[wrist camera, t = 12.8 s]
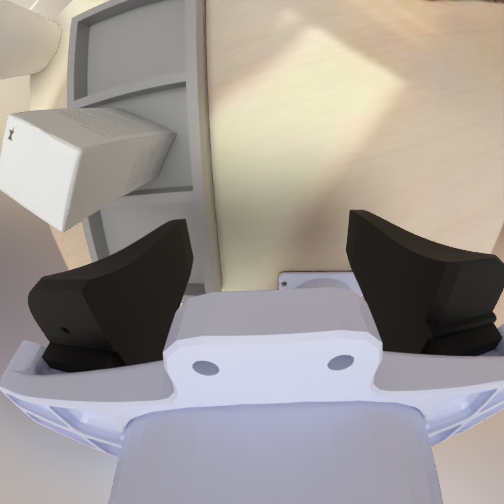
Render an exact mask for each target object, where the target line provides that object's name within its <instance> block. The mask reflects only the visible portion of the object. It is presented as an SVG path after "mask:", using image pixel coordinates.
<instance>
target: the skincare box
mask: <svg viewBox="0 0 504 504" xmlns="http://www.w3.org/2000/svg"><path fill="white" fill-rule="evenodd" d="M175 136H176V132H174V131H172V130H169V129H167V128H165V127H163V126H161V125H158V124H156V123H154V122H151V121H149V120H147V119H144V118H142V117H140V116H137V115H135V114H132V113H130V112H127V111H125V110H122V109H120V108H68V109H51V110H36V111H27V112H20V113H14V114H10V115H9V116H8V119H7V123H6V128H5V133H4V138H3V143H2V149H1V155H0V190H1V191H3V192H4V193H6V194H7V195H8V196H10V197H11V198H12V199H14V200H15V201H17V202H18V203H19V204H21V205H22V206H24V207H25V208H26V209H28V210H29V211H31V212H32V213H34V214H35V215H37V216H38V217H40V218H41V219H42V220H44V221H45V222H47V223H48V224H50V225H52V226H53V227H55V228H56V229H57V230H59V231H60V232H62V233H63V232H65V231H67V230H68V229H70V228H71V227H73V226H74V225H76V224H77V223H79V222H81V221H82V220H84V219H85V218H87V217H89V216H90V215H92V214H93V213H95V212H97V211H98V210H100V209H102V208H103V207H105V206H107V205H108V204H110V203H112V202H114V201H115V200H117V199H119V198H121V197H123V196H124V195H126V194H128V193H130V192H132V191H133V190H135V189H137V188H139V187H141V186H143V185H145V184H146V183H148V182H150V181H152V180H154V179H156V178H157V177H158V175H159V172H160V170H161V167H162V165H163V163H164V160H165V158H166V156H167V154H168V151H169V149H170V147H171V145H172V143H173V141H174V138H175Z"/></svg>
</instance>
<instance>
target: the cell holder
mask: <svg viewBox="0 0 504 504" xmlns="http://www.w3.org/2000/svg"><path fill="white" fill-rule="evenodd" d="M67 107H68V108H120V109H122V110H125V111H127V112H130V113H132V114H135V115H137V116H140V117H142V118H144V119H147V120H149V121H151V122H154V123H156V124H158V125H161V126H163V127H165V128H167V129H169V130H172V131H174V132H176V136H175V138H174V141H173V143H172V145H171V147H170V149H169V151H168V154H167V156H166V158H165V160H164V163H163V165H162V167H161V170H160V172H159V175H158V177H157V178H156V179H154V180H152V181H150V182H148V183H146V184H145V185H143V186H141V187H139V188H137V189H135V190H133V191H132V192H130V193H128V194H126V195H124V196H123V197H121V198H119V199H117V200H115V201H114V202H112V203H110V204H108V205H107V206H105V207H103V208H102V209H100V210H98V211H97V212H95V213H93V214H92V215H90V216H89V217H87V218H85V219H84V220H82V223H83V227H84V232H85V236H86V240H87V244H88V248H89V252H90V255H91V259H92V263H93V262H95V261H98V260H100V259H103V258H105V257H108V256H110V255H112V254H114V253H116V252H118V251H120V250H122V249H124V248H125V247H127V246H129V245H131V244H132V243H134V242H136V241H137V240H139V239H140V238H142V237H144V236H145V235H147V234H149V233H150V232H152V231H153V230H155V229H156V228H158V227H160V226H161V225H163V224H165V223H166V222H168V221H170V220H174V219H186V223H187V228H188V233H189V237H190V242H191V247H192V252H193V256H194V259H193V265H192V270H191V275H190V278H189V281H188V284H187V287H186V290H185V292H184V295H183V298H182V301H181V303H185V301H186V300H187V299H188V298H191V297H195V296H199V295H203V294H207V293H212V292H221V289H222V277H221V267H220V257H219V247H218V236H217V225H216V213H215V201H214V188H213V175H212V160H211V145H210V128H209V109H208V86H207V56H206V0H110V1H108V2H105V3H103V4H101V5H99V6H96V7H94V8H92V9H90V10H88V11H86V12H83V13H81V14H79V15H77V16H75V17H74V18H72V22H71V30H70V40H69V51H68V71H67Z"/></svg>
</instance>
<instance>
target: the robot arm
mask: <svg viewBox="0 0 504 504" xmlns="http://www.w3.org/2000/svg"><path fill="white" fill-rule="evenodd" d="M346 252H347V256H348V260H349V263H350V266H351V269H352V271H353V272H283V273H281V274H280V275H279V290H264V291H238V292H212V293H207V294H203V295H199V296H195V297H191V298H188V299H187V300H186V301H185V303H184V304H183V305H182V306H181V307H180V304H181V301H182V298H183V295H184V292H185V290H186V287H187V284H188V281H189V278H190V275H191V270H192V265H193V259H194V256H193V252H192V247H191V242H190V237H189V233H188V228H187V223H186V219H174V220H170V221H168V222H166V223H165V224H163V225H161V226H160V227H158V228H156V229H155V230H153V231H152V232H150V233H149V234H147V235H145V236H144V237H142V238H140V239H139V240H137V241H136V242H134V243H132V244H131V245H129V246H127V247H125V248H124V249H122V250H120V251H118V252H116V253H114V254H112V255H110V256H108V257H105V258H103V259H100V260H98V261H95V262H93V263H91V264H88V265H85V266H82V267H79V268H76V269H73V270H69V271H66V272H62V273H57V274H53V275H49V276H44V277H42V278H41V279H40V281H38V283H37V284H36V285H35V286H34V287H33V289H32V290H31V291H30V293H29V296H28V305H29V308H30V311H31V313H32V315H33V317H34V319H35V321H36V322H37V324H38V325H39V327H40V328H41V330H42V331H43V333H44V334H45V336H46V337H47V339H48V340H49V342H50V343H49V345H48V347H47V348H45V347H44V346H43V345H41V344H38V343H34V342H30V341H26V340H25V341H23V342H22V344H21V345H20V347H19V349H18V350H17V352H16V353H15V355H14V357H13V358H12V360H11V362H10V363H9V365H8V367H7V369H6V371H5V373H4V374H3V376H2V378H1V380H0V390H1V391H2V392H3V393H4V394H5V395H6V396H7V397H8V398H9V399H10V400H11V401H12V402H13V403H14V404H15V405H17V406H18V407H19V408H20V409H21V410H22V411H23V412H25V414H27V415H28V416H29V417H30V418H31V419H33V420H34V421H35V422H37V423H39V424H41V425H43V426H45V427H47V428H49V429H51V430H53V431H55V432H57V433H59V434H62V435H64V436H66V437H68V438H70V439H73V440H74V441H77V442H79V443H82V444H84V445H86V446H88V447H91V448H93V449H96V450H98V451H101V452H103V453H106V454H109V455H111V456H114V457H117V458H119V460H118V464H117V468H116V472H115V476H114V480H113V485H112V489H111V494H110V499H109V504H443V501H442V495H441V489H440V484H439V479H438V475H437V470H436V465H435V461H434V458H433V453H432V449H431V447H433V446H435V445H437V444H440V443H442V442H444V441H446V440H448V439H450V438H452V437H454V436H456V435H458V434H460V433H462V432H463V431H466V430H468V429H470V428H471V427H473V426H475V425H477V424H478V423H480V422H482V421H484V420H486V419H487V418H489V417H491V416H493V415H494V414H496V413H498V412H499V411H501V410H503V409H504V324H503V325H501V326H500V327H499V328H498V329H497V328H496V326H495V325H494V323H493V322H495V321H496V316H495V314H494V313H493V309H494V308H495V305H496V304H497V301H498V300H499V297H500V295H501V293H502V291H503V288H504V263H503V262H502V261H501V260H500V259H499V258H498V257H497V256H496V255H492V254H485V253H478V252H471V251H466V250H461V249H457V248H453V247H449V246H446V245H442V244H439V243H436V242H433V241H430V240H428V239H425V238H422V237H420V236H417V235H415V234H413V233H410V232H408V231H406V230H404V229H402V228H400V227H398V226H396V225H394V224H392V223H390V222H388V221H386V220H384V219H382V218H380V217H379V216H377V215H375V214H372V213H370V212H368V211H365V210H350V214H349V226H348V236H347V245H346ZM284 281H285V282H287V283H286V284H282V282H284ZM363 296H364V299H365V301H366V302H365V301H364V300H363V299H362V297H363ZM179 307H180V308H179Z"/></svg>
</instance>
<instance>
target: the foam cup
mask: <svg viewBox="0 0 504 504" xmlns="http://www.w3.org/2000/svg"><path fill="white" fill-rule="evenodd" d="M60 38H61V30H60V27H59V25H58V24H56V23H55V22H53V21H51V20H49V19H47V18H45V17H43V16H41V15H38V14H36V13H34V12H32V11H30V10H28V9H26V8H23V7H21V6H19V5H16V4H14V3H12V2H9V1H7V0H0V79H5V78H11V77H16V76H23V75H29V74H34V73H38V72H40V71H42V70H43V69H44V68H45V67H46V66H47V65H48V64H49V63H50V61H51V60H52V58H53V57H54V55H55V54H56V51H57V48H58V46H59V44H60Z"/></svg>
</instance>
